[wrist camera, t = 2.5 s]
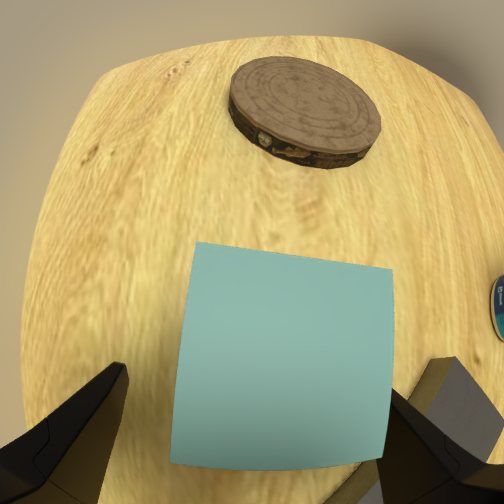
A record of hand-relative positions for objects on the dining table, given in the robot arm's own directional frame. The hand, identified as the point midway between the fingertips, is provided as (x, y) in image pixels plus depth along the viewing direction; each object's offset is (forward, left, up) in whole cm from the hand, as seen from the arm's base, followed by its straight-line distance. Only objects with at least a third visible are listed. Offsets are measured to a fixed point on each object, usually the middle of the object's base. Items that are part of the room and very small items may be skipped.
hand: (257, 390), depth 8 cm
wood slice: (+24, +9, -9) cm, 27 cm away
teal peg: (+1, +1, -9) cm, 9 cm away
